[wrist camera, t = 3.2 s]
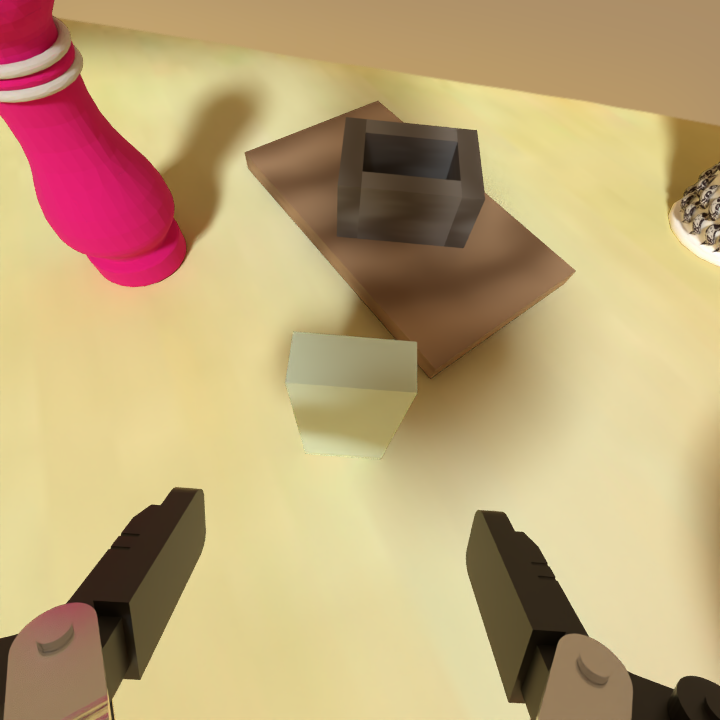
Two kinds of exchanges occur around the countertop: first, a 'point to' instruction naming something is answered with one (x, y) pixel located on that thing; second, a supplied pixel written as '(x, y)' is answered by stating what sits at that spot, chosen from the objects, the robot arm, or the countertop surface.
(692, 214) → the decorative candle
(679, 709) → the robot arm
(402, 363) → the slat
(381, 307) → the brown piece
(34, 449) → the countertop surface
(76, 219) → the pepper mill
